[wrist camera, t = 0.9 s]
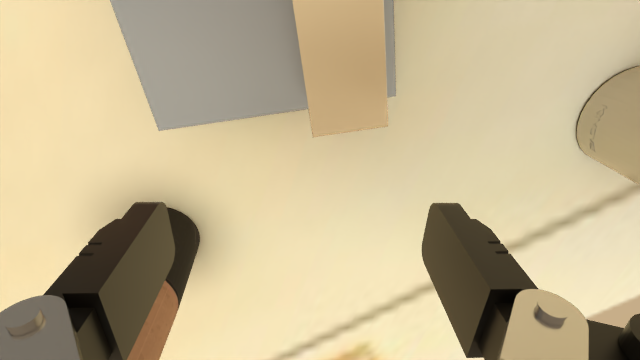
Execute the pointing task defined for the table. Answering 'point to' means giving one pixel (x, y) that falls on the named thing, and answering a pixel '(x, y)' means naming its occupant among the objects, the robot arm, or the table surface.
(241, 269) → the table surface
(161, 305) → the travel mug
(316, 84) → the kraft carton
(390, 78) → the shelf board
